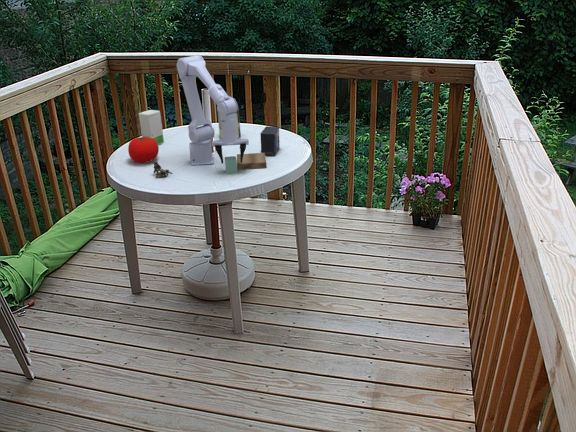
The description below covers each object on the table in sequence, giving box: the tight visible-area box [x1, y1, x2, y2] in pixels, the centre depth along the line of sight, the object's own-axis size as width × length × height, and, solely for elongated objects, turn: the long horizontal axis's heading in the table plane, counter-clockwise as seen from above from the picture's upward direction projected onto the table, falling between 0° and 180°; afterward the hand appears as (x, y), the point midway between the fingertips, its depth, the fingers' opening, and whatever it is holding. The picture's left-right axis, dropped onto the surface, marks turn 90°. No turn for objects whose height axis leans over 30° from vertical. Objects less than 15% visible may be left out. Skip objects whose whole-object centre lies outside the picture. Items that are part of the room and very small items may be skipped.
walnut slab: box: [236, 152, 267, 171], centre depth 240 cm, size 12×12×2 cm
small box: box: [259, 125, 281, 157], centre depth 251 cm, size 11×6×10 cm, turn 168°
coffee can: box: [216, 107, 242, 140], centre depth 270 cm, size 10×10×14 cm
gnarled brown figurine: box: [152, 161, 173, 179], centre depth 231 cm, size 12×6×11 cm
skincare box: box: [138, 109, 165, 146], centre depth 265 cm, size 8×7×16 cm
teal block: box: [224, 155, 238, 175], centre depth 231 cm, size 4×4×6 cm
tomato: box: [127, 136, 160, 164], centre depth 246 cm, size 14×13×10 cm
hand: (232, 162), depth 231 cm, fingers open, 7 cm apart
